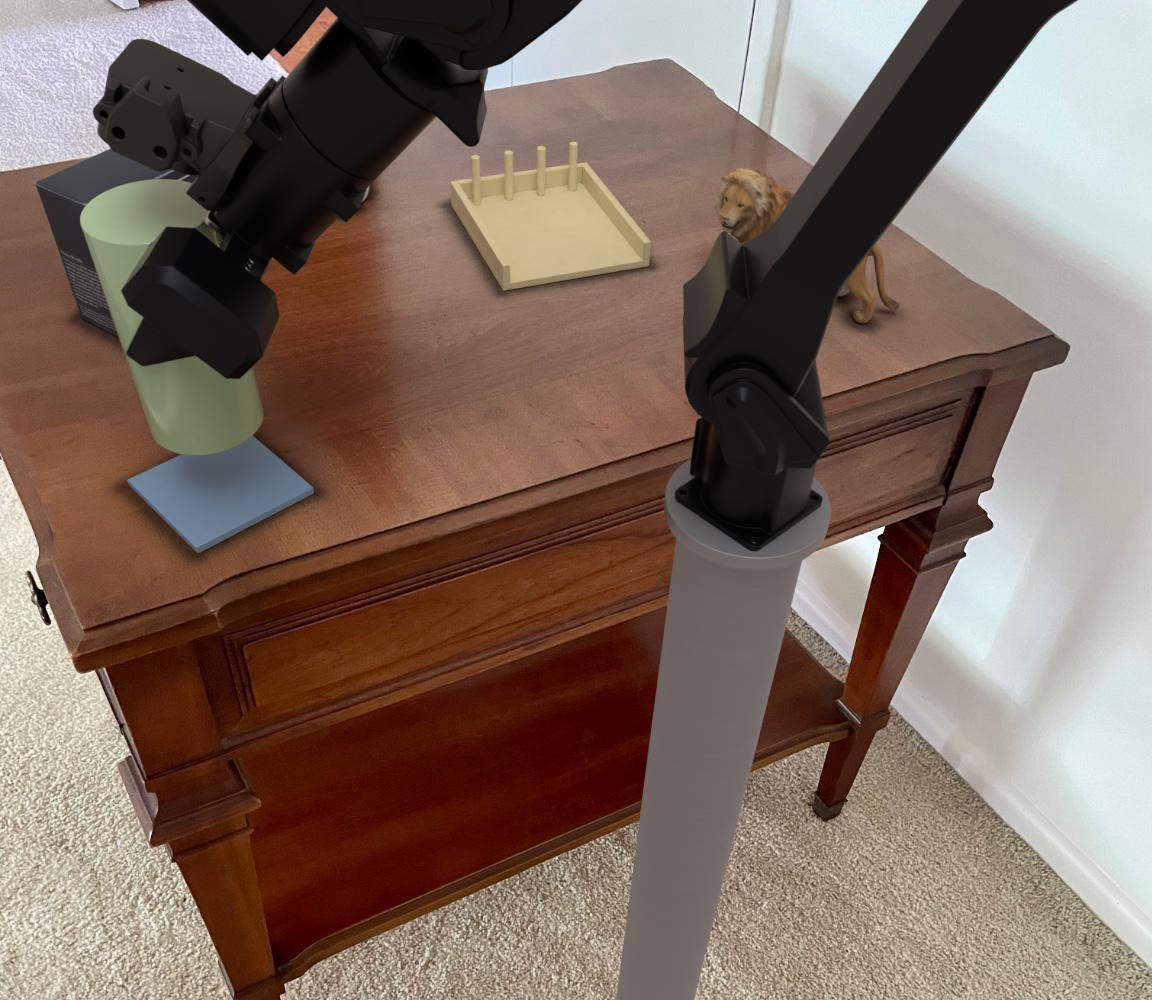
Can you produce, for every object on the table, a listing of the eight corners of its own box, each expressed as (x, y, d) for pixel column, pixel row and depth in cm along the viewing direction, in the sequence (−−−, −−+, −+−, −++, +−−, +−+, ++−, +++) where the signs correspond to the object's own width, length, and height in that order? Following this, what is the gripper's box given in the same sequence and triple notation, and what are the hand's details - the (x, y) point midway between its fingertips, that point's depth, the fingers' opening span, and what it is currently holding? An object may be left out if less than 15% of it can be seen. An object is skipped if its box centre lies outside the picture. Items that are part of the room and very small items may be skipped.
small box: (188, 257, 87) (155, 122, 80) (248, 284, 85) (221, 147, 77) (75, 318, 81) (28, 177, 73) (137, 349, 79) (95, 207, 71)
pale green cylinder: (255, 377, 68) (205, 170, 58) (272, 442, 64) (222, 231, 54) (145, 398, 66) (75, 189, 57) (156, 466, 62) (83, 253, 53)
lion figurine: (698, 295, 86) (712, 182, 79) (713, 261, 89) (728, 150, 83) (893, 331, 83) (924, 217, 77) (901, 295, 87) (931, 183, 80)
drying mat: (314, 493, 69) (313, 487, 68) (197, 554, 65) (195, 548, 65) (243, 431, 73) (241, 425, 72) (128, 485, 69) (126, 479, 68)
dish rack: (649, 266, 88) (654, 211, 85) (503, 291, 85) (502, 234, 82) (585, 185, 97) (587, 132, 94) (451, 205, 94) (448, 151, 91)
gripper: (239, -79, 55) (79, 135, 63) (110, 77, 42) (-70, 321, 50) (414, 93, 60) (246, 270, 68) (348, 278, 47) (151, 468, 56)
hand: (155, 322), depth 60 cm, fingers closed on pale green cylinder, 6 cm apart
